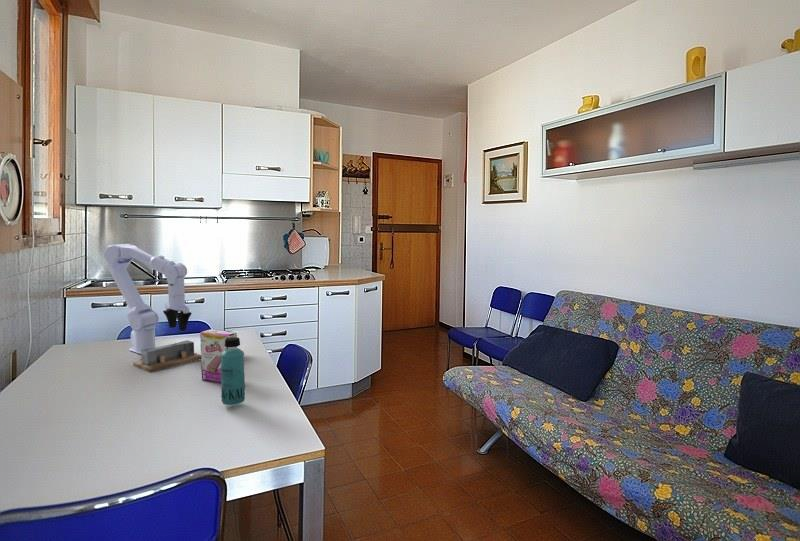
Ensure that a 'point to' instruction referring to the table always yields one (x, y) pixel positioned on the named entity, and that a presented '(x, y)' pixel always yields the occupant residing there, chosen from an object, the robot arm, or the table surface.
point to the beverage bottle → (232, 373)
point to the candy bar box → (213, 353)
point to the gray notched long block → (166, 352)
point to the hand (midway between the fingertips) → (177, 328)
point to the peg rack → (167, 362)
